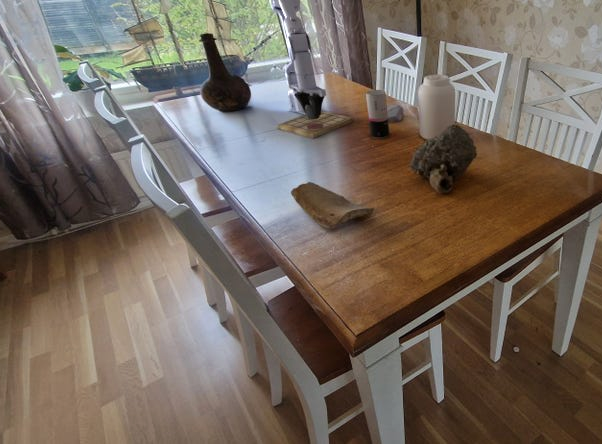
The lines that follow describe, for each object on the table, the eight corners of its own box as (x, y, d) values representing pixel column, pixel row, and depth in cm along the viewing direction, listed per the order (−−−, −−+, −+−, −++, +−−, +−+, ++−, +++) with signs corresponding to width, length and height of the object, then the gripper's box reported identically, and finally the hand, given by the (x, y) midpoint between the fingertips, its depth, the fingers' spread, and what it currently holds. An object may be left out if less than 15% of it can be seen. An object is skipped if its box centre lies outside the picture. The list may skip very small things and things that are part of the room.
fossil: (325, 200, 101) (289, 206, 93) (326, 177, 98) (289, 181, 91) (375, 229, 88) (338, 239, 81) (377, 204, 86) (339, 211, 79)
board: (278, 128, 137) (277, 124, 136) (318, 113, 151) (318, 109, 151) (313, 138, 130) (312, 133, 129) (352, 121, 144) (352, 117, 143)
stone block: (400, 126, 145) (405, 113, 152) (398, 115, 141) (403, 102, 148) (370, 126, 146) (376, 113, 153) (368, 115, 142) (374, 102, 149)
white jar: (428, 144, 127) (427, 83, 115) (414, 132, 136) (411, 74, 124) (460, 138, 131) (462, 78, 120) (444, 126, 141) (445, 70, 129)
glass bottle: (263, 106, 158) (243, 33, 143) (222, 118, 146) (196, 38, 130) (238, 99, 166) (217, 29, 150) (197, 110, 154) (170, 34, 138)
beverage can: (366, 136, 131) (361, 93, 123) (378, 131, 136) (373, 88, 128) (382, 140, 129) (377, 96, 120) (393, 134, 134) (389, 91, 125)
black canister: (304, 118, 133) (301, 104, 130) (314, 115, 136) (311, 101, 133) (313, 120, 131) (310, 106, 128) (323, 117, 134) (320, 103, 131)
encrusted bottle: (447, 110, 102) (457, 119, 89) (481, 147, 108) (496, 161, 95) (401, 158, 106) (403, 173, 92) (436, 191, 111) (444, 210, 98)
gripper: (280, 73, 125) (289, 113, 133) (311, 79, 119) (319, 120, 127) (297, 69, 130) (305, 108, 138) (327, 74, 124) (334, 115, 132)
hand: (312, 113), depth 133 cm, fingers closed on black canister, 4 cm apart
